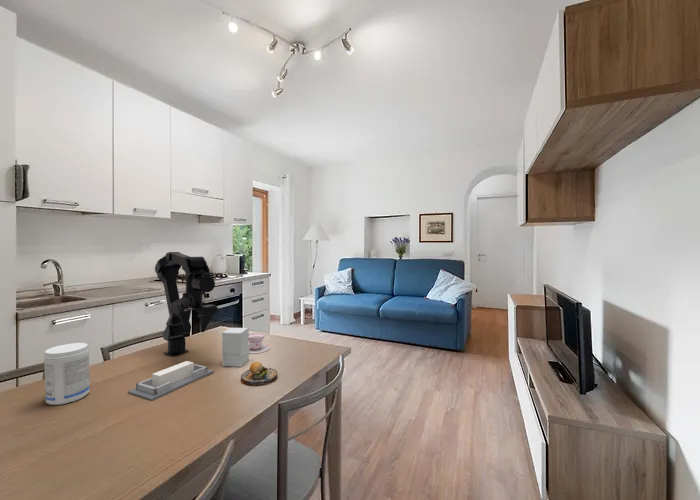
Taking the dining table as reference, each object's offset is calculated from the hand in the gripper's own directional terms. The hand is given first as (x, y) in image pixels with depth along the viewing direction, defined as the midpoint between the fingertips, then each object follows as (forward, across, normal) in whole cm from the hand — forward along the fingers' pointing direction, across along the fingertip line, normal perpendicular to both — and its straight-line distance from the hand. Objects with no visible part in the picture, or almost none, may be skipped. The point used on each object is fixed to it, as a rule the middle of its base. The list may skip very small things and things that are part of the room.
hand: (194, 330), depth 119 cm
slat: (+11, +9, -15) cm, 21 cm away
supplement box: (+12, +15, +6) cm, 20 cm away
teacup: (+12, +11, +22) cm, 27 cm away
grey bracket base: (+12, +9, -15) cm, 21 cm away
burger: (+13, +32, -1) cm, 34 cm away
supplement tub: (+12, -9, -35) cm, 38 cm away
